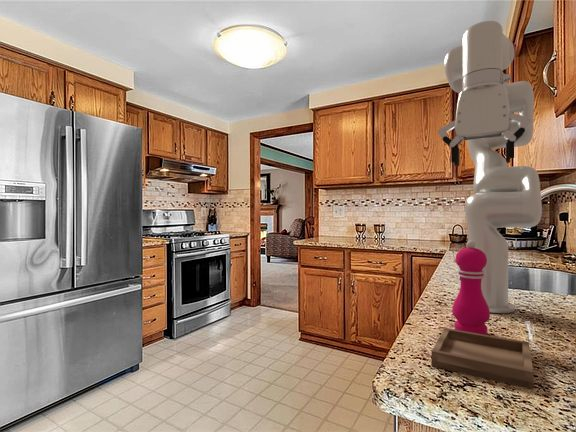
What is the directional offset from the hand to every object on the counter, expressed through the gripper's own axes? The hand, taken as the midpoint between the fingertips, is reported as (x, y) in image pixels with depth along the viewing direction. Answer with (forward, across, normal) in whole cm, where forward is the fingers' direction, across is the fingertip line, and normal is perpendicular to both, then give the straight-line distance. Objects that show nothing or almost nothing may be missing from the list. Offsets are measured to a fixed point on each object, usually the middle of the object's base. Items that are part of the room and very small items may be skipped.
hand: (481, 163), depth 73 cm
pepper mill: (+37, +2, +1) cm, 37 cm away
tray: (+37, -1, +16) cm, 40 cm away
